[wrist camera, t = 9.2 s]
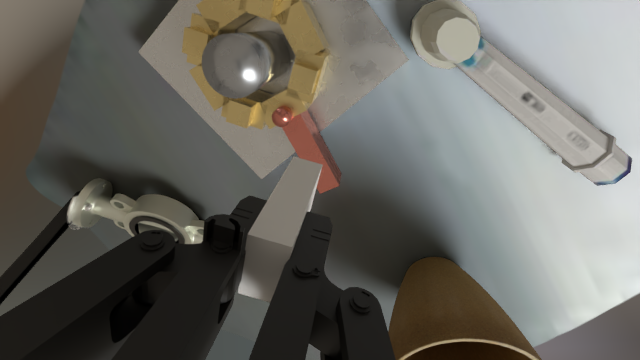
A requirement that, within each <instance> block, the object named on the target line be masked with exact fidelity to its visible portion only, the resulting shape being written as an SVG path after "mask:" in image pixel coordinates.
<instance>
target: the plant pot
mask: <svg viewBox="0 0 640 360" xmlns="http://www.w3.org/2000/svg"><path fill="white" fill-rule="evenodd" d="M388 334H389V337H390V341H391V345H392V348H393V352H394V355H395V359H396V360H541V358H540V357H539V355H538V354H537V353H536V351H535V350H534V348H533V347H532V346H531V344H530V343H529V342H528V340H527V339H526V338H525V336H524V335H523V334H522V332H521V331H520V330H519V329H518V327H517V326H516V325H515V323H514V322H513V321H512V320H511V318H510V317H509V316H508V315H507V314H506V312H505V311H504V310H503V309H502V308H501V307H500V306H499V304H498V303H497V302H496V301H495V300H494V299H493V298H492V297H491V296H490V295H489V294H488V293H487V292H486V291H485V290H484V289H483V288H482V287H481V286H480V285H479V284H478V283H477V282H476V281H475V280H474V279H473V278H472V277H471V276H470V275H469V274H467V273H466V272H465V271H464V270H463V269H461V268H460V267H459V266H458V265H456V264H455V263H454V262H452V261H450V260H448V259H446V258H442V257H427V258H423V259H421V260H418V261H417V262H415V263H413V264H412V265H411V266H410V267H409V269H408V270H407V272H406V274H405V276H404V279H403V281H402V284H401V286H400V289H399V292H398V295H397V298H396V301H395V305H394V308H393V312H392V317H391V321H390V326H389V332H388Z"/></svg>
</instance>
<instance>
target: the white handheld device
mask: <svg viewBox="0 0 640 360" xmlns="http://www.w3.org/2000/svg"><path fill="white" fill-rule="evenodd" d="M480 34H481V31H480V27H479V24H478V21H477V18H476V15H475V13H474V12H472V11H471V10H470V9H469V8H468V7H467V6H466V5H465V4H463V3H462V2H461V1H455V0H435V1H432V2H430V3H428V4H425V5H423V6H422V8H420V9H419V11H418V12H417V14H416V15H415V16H414V18H413V19H412V20H411V29H410V39H411V41H412V44H413V46H414V49H415V51H416V53H417V55H418V56H419V57H421V58H422V59H423V60H424V61H426V62H427V63H428V64H430V65H431V66H432V67H438V68H444V69H451V68H454V67H458V68H459V69H461V70H462V71H463V72H464V73H465V74H466V75H467V76H469V77H470V78H471V79H472V80H473V81H474V82H475V83H477V84H478V85H479V86H480V87H481V88H482V89H484V90H485V91H486V92H487V93H488V94H489V95H490V96H492V97H493V98H494V99H495V100H496V101H497V102H498V103H500V104H501V105H502V106H503V107H504V108H505V109H506V110H508V111H509V112H510V113H511V114H512V115H513V116H515V117H516V118H517V119H518V120H519V121H520V122H521V123H523V124H524V125H525V126H526V127H527V128H528V129H529V130H531V131H532V132H533V133H534V134H535V135H536V136H538V137H539V138H540V139H541V140H542V141H543V142H544V143H546V144H547V145H548V146H549V147H550V148H551V149H552V150H554V151H555V152H556V153H557V154H558V155H559V156H561V157H562V163H563V164H564V165H566V166H567V167H568V168H570V169H571V170H573V171H574V172H580V173H581V174H583V175H584V176H585V177H586V178H588V179H589V180H590V181H592V182H593V183H594V184H596V185H597V186H598V185H606V184H615V183H617V182H618V181H619V180H621V179H622V178H623V177H625V176H626V175H627V174H628V173H630V171H631V163H632V158H631V157H630V156H628V155H627V154H626V153H625V152H624V151H623V150H622V149H620V148H619V147H618V146H617V145H616V144H615V143H616V138H615V137H613V136H611V135H610V134H608V133H606V132H604V131H602V130H598V129H597V128H595V127H594V126H593V125H591V124H590V123H589V122H588V121H586V120H585V119H584V118H583V117H581V116H580V115H579V114H578V113H576V112H575V111H574V110H573V109H571V108H570V107H569V106H568V105H566V104H565V103H564V102H563V101H561V100H560V99H559V98H558V97H556V96H555V95H554V94H553V93H551V92H550V91H549V90H547V89H546V88H545V87H544V86H542V85H541V84H540V83H539V82H537V81H536V80H535V79H534V78H532V77H531V76H530V75H529V74H527V73H526V72H525V71H524V70H522V69H521V68H520V67H519V66H517V65H516V64H515V63H514V62H512V61H511V60H510V59H509V58H507V57H506V56H505V55H503V54H502V53H501V52H500V51H498V50H497V49H496V48H495V47H493V46H492V45H491V44H490V43H488V42H487V41H486V40H485V39H483V38H482V37H481V36H480Z"/></svg>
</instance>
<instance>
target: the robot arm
mask: <svg viewBox="0 0 640 360" xmlns="http://www.w3.org/2000/svg"><path fill="white" fill-rule="evenodd" d="M321 169H322V164H319V163H315V162H312V161H308V160H305V159H301V158H298V157H293V158H292V160H291V162H290V163H289V165H288V167H287V168H286V170H285V172H284V174H283V175H282V177H281V179H280V180H279V182H278V184H277V185H276V187H275V189H274V190H273V192H272V194H271V195H270V197H269V199H268V200H263V199H260V198H256V197H253V196H248V197H246V198H244V199H242V200H241V201H240V202H239V203H238V205H237V206H236V208H235V209H234V210H233V212H232V213H231V214H230V215H225V214H222V215H214V216H211V217H209V218H208V219H206V220H205V221H204V231H203V241H202V242H201V243H198V244H178V243H175V239H174V237H173V236H172V235H171V234H170V233H168V232H165V231H162V230H149V231H144V232H142V233H139V234H137V235H135V236H134V237H132V238H130V239H129V240H127V241H125V242H124V243H122V244H120V245H119V246H117V247H115V248H114V249H112V250H110V251H109V252H107V253H105V254H104V255H102V256H100V257H99V258H97V259H95V260H93V261H92V262H90V263H88V264H87V265H85V266H84V267H82V268H80V269H78V270H77V271H75V272H73V273H72V274H70V275H68V276H67V277H65V278H64V279H62V280H60V281H58V282H57V283H55V284H53V285H52V286H50V287H48V288H47V289H45V290H43V291H42V292H40V293H38V294H37V295H35V296H33V297H32V298H30V299H28V300H27V301H25V302H23V303H22V304H20V305H18V306H17V307H15V308H13V309H12V310H10V311H8V312H7V313H5V314H3V315H2V316H0V360H205V359H206V357H207V355H208V353H209V351H210V349H211V347H212V345H213V343H214V341H215V339H216V337H217V335H218V333H219V331H220V329H221V327H222V325H223V323H224V321H225V319H226V317H227V315H228V313H229V311H230V309H231V307H232V304H233V300H234V294H235V292H236V290H237V288H238V286H239V290H238V293H240V294H243V295H247V296H250V297H253V298H257V299H260V300H263V301H267V302H270V305H269V308H268V310H267V313H266V316H265V318H264V321H263V324H262V326H261V329H260V331H259V334H258V337H257V339H256V342H255V345H254V348H253V350H252V353H251V355H250V359H249V360H305V358H306V353H307V349H308V344H311V345H312V346H314V347H315V348H317V349H318V350H320V351H321V352H320V357H321V360H396V359H395V355H394V352H393V348H392V345H391V341H390V337H389V334H388V330H387V327H386V323H385V320H384V316H383V313H382V309H381V306H380V304H379V302H378V300H377V298H376V297H375V296H374V295H373V294H372V293H370V292H369V291H367V290H365V289H362V288H358V287H350V288H348V289H346V290H344V291H343V290H342V289H340V288H338V287H337V286H335V285H334V284H332V283H331V282H330V281H329V280H328V278H327V277H326V275H325V272H324V263H325V259H326V254H327V249H328V245H329V240H330V235H331V231H332V223H331V221H330V218H328V217H325V216H321V215H318V214H314V213H311V212H310V210H311V207H312V203H313V199H314V195H315V191H316V188H317V184H318V180H319V176H320V173H321Z"/></svg>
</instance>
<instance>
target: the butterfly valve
mask: <svg viewBox="0 0 640 360" xmlns="http://www.w3.org/2000/svg"><path fill="white" fill-rule="evenodd" d="M112 191H113V188H112V184H111V182H109V181H107V180H104V179H101V178H96V179H94V180H92V181H90V182H89V183H88V184H87V185H86V186H85V187H84V188H83V189H82V191H79V192H77V193H75V194H74V196H73V197H72V198H71V199H70V200H69V201H68V202H67V204H66V205H65V206H64V207H63V208H62V209H61V210H60V212H59V213H58V214H57V215H56V216H55V217H54V218H53V220H52V221H51V222H50V223H49V224H48V225H47V226H46V227H45V229H44V230H43V231H42V232H41V233H40V234H39V235H38V237H37V238H36V239H35V240H34V241H33V242H32V243H31V244H30V245H29V246H28V248H27V249H26V250H25V251H24V252H23V253H22V254H21V255H20V256H19V257H18V258H17V259H16V261H15V262H14V263H13V264H12V265H11V266H10V267H9V268H8V269H7V270H6V271H5V272H4V274H3V275H2V276H1V277H0V305H1V303H2V302H3V301H4V300H5V299H6V298H7V296H8V295H9V294H10V293H11V292H12V291H13V289H14V288H15V287H16V286H17V285H18V283H20V282H21V280H22V279H23V278H24V277H25V276H26V275H27V273H28V272H29V271H30V270H31V269H32V268H33V267H34V265H35V264H36V263H37V262H38V261H39V260H40V258H41V257H42V256H43V255H44V254H45V253H46V252H47V250H48V249H49V248H50V247H51V246H52V245H53V244H54V243H55V242H56V240H57V239H58V238H59V237H60V236H61V235H62V234H63V233H64V232H65V231H66V229H67V228H68V227H71V229H74V230H77V229H81V227H82V228H89V227H92V226H93V225H95V224H96V223H97V222H98V221H99V220H100V219H101V217H102V216H103V217H106V218H109V219H113V220H114V223H115V224H116V225H117V226H118V227H120V228H122V229H126V230H127V232H128V233H129V234H130V235H131V236H132V237H134V236H135V235H137V234H139V233H142V232H144V231H149V230H162V231H165V232H168V233H170V234H171V235H172V236H173V237H174V239H175V243H178V244H198V243H201V242H202V241H203V231H204V221H202V220H199V219H198V217H197V216H196V214H195V213H194V212H193V211H192V210H191V209H190V208H188V207H187V206H186V205H184V204H182V203H181V202H179V201H177V200H175V199H172V198H170V197H167V196H163V195H157V194H147V195H143V196H140V197H139V198H138V199H137V200H136V201H135V200H133V199H131V198H129V197H127V196H126V195H123V194H115V196H114V197H113V198H111V197H112Z"/></svg>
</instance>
